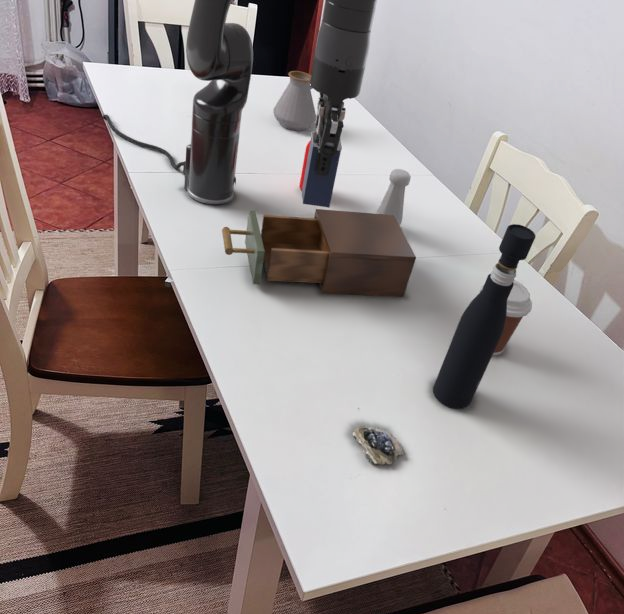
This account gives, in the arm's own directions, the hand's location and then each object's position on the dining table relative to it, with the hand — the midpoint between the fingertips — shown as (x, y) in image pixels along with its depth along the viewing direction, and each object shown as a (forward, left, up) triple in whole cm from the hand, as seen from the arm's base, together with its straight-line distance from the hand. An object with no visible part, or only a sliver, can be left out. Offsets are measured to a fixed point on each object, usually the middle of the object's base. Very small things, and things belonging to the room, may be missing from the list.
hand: (320, 166), depth 106 cm
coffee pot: (-41, +62, -23) cm, 78 cm away
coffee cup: (+34, +10, -23) cm, 42 cm away
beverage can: (-18, +30, -23) cm, 42 cm away
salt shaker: (+1, +31, -23) cm, 39 cm away
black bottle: (+35, -7, -23) cm, 42 cm away
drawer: (-5, 0, -21) cm, 22 cm away
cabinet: (+6, +11, -22) cm, 26 cm away
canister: (0, 0, -6) cm, 6 cm away
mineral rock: (+31, -25, -23) cm, 46 cm away
